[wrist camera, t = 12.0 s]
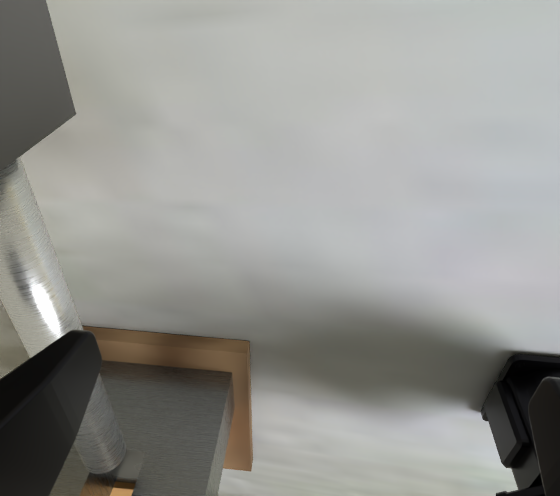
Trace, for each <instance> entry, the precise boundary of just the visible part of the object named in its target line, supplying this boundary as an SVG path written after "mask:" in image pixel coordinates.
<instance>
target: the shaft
mask: <svg viewBox="0 0 560 496" xmlns="http://www.w3.org/2000/svg"><path fill="white" fill-rule="evenodd" d="M74 115H76V112H75V108H74V105H73V101H72V97H71V93H70V90H69V86H68V82H67V78H66V75H65V71H64V67H63V63H62V60H61V56H60V52H59V48H58V45H57V41H56V37H55V33H54V29H53V26H52V22H51V18H50V14H49V11H48V7H47V3H46V0H0V300H1V302H2V304H3V306H4V308H5V310H6V312H7V314H8V316H9V318H10V320H11V322H12V323H13V325H14V327H15V329H16V331H17V333H18V335H19V337H20V339H21V341H22V343H23V345H24V347H25V349H26V351H27V353H28V355H29V357H30V358H31V357H33V356H34V355H36V354H37V353H38V352H40V351H41V350H43V349H44V348H46V347H47V346H48V345H50V344H51V343H53V342H54V341H56V340H57V339H59V338H60V337H61V336H63V335H64V334H66V333H67V332H69V331H71V330H75V329H77V330H83V327H82V324H81V321H80V319H79V316H78V313H77V311H76V308H75V305H74V302H73V300H72V297H71V294H70V292H69V289H68V286H67V283H66V281H65V278H64V275H63V273H62V270H61V267H60V264H59V262H58V259H57V256H56V253H55V251H54V248H53V245H52V243H51V240H50V237H49V234H48V232H47V229H46V226H45V224H44V221H43V218H42V215H41V213H40V210H39V207H38V205H37V202H36V199H35V196H34V194H33V191H32V188H31V186H30V183H29V180H28V177H27V175H26V172H25V169H24V167H23V164H22V161H21V158H20V156H21V155H22V154H24V153H25V152H26V151H28V150H29V149H30V148H32V147H33V146H34V145H36V144H37V143H38V142H40V141H41V140H42V139H44V138H45V137H46V136H48V135H49V134H50V133H52V132H53V131H54V130H56V129H57V128H58V127H60V126H61V125H62V124H64V123H65V122H66V121H68V120H69V119H70V118H72V117H73V116H74ZM74 446H75V448H76V450H77V452H78V454H79V456H80V458H81V460H82V462H83V464H84V465H85V467H86V469H87V470H88V471H90V472H91V473H94V474H103V473H107V472H109V471H111V470H113V469H114V468H116V467H117V466H118V465H119V464H120V463H121V461H122V460H123V458H124V456H125V453H126V444H125V441H124V438H123V436H122V433H121V430H120V427H119V425H118V422H117V419H116V417H115V414H114V411H113V408H112V406H111V403H110V400H109V398H108V395H107V392H106V389H105V387H104V384H103V381H102V379H101V376H100V373H99V375H98V378H97V381H96V383H95V386H94V389H93V392H92V395H91V398H90V401H89V404H88V406H87V409H86V412H85V415H84V418H83V421H82V424H81V426H80V429H79V432H78V434H77V437H76V439H75V441H74Z"/></svg>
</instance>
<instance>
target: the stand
mask: <svg viewBox="0 0 560 496" xmlns="http://www.w3.org/2000/svg"><path fill="white" fill-rule="evenodd" d="M82 327H83V330H87V331H91V332H93V333H94V335H95V338H96V341H97V344H98V347H99V350H100V352H101V356H102V365H101V369H100V372H99V373H100V376H101V379H102V381H103V384H104V387H105V389H106V392H107V395H108V398H109V400H110V403H111V406H112V408H113V411H114V414H115V417H116V419H117V422H118V425H119V427H120V430H121V433H122V436H123V438H124V441H125V444H126V453H125V456H124V458H123V460H122V461H121V463H120V464H119V465H118V466H117V467H116V468H114V469H113V470H111V471H109V472H107V473H103V474H94V473H91V472H90V471H88V470H87V469H86V467H85V465H84V464H83V462H82V460H81V458H80V456H79V454H78V452H77V450H76V448H75V446H74V444H73V446H72V448H71V450H70V452H69V455H68V457H67V459H66V461H65V463H64V465H63V467H62V469H61V472H60V474H59V476H58V478H57V480H56V482H55V484H54V486H53V489H52V491H51V493H50V495H49V496H110V494H111V492H112V489H113V486H114V484H115V481H116V482H125V483H134V484H135V487H134V490H133V492H132V495H131V496H217V495H218V490H219V484H220V479H221V474H222V469H223V468H225V469H235V470H244V471H251V468H252V461H253V449H252V414H251V379H250V344H249V341H242V340H231V339H220V338H208V337H197V336H186V335H175V334H164V333H153V332H142V331H131V330H120V329H109V328H98V327H87V326H82Z"/></svg>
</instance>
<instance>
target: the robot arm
mask: <svg viewBox="0 0 560 496" xmlns="http://www.w3.org/2000/svg"><path fill="white" fill-rule="evenodd" d="M101 365H102V356H101V352H100V350H99V347H98V344H97V341H96V338H95V335H94V333H93V332H91V331H87V330H77V329H75V330H71V331H69V332H67V333H66V334H64V335H63V336H61V337H60V338H59V339H57V340H56V341H54V342H53V343H51V344H50V345H48V346H47V347H46V348H44V349H43V350H41V351H40V352H38V353H37V354H36V355H34V356H33V357H31V358H30V359H28V360H27V361H25V362H24V363H23V364H21V365H20V366H18V367H17V368H15V369H14V370H13V371H11V372H10V373H8V374H7V375H5V376H4V377H2V378H1V379H0V496H49V495H50V493H51V491H52V489H53V486H54V484H55V482H56V480H57V478H58V476H59V474H60V472H61V469H62V467H63V465H64V463H65V461H66V459H67V457H68V455H69V452H70V450H71V448H72V446H73V444H74V441H75V439H76V437H77V434H78V432H79V429H80V426H81V424H82V421H83V418H84V415H85V412H86V409H87V406H88V404H89V401H90V398H91V395H92V392H93V389H94V386H95V383H96V381H97V378H98V375H99V372H100V369H101ZM481 415H482V418H483V420H485V421H489V424H490V427H491V431H492V434H493V437H494V440H495V443H496V447H497V450H498V453H499V456H500V459H501V462H502V464H503V465H504V466H505V467H506V468H511V469H512V472H513V475H514V478H515V481H516V484H517V487H518V490H516V491H511V492H506V491H503V492H499V493H496V496H560V358H557V357H546V356H534V355H523V354H517V355H513V356H512V357H510V358H509V360H508V362H507V364H506V366H505V367H504V369H503V371H502V373H501V375H500V377H499V379H498V380H497V382H496V383H495V384H494V386H493V388H492V390H491V392H490V394H489V396H488V397H487V399H486V401H485V403H484V407H483V408H482V410H481Z"/></svg>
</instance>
